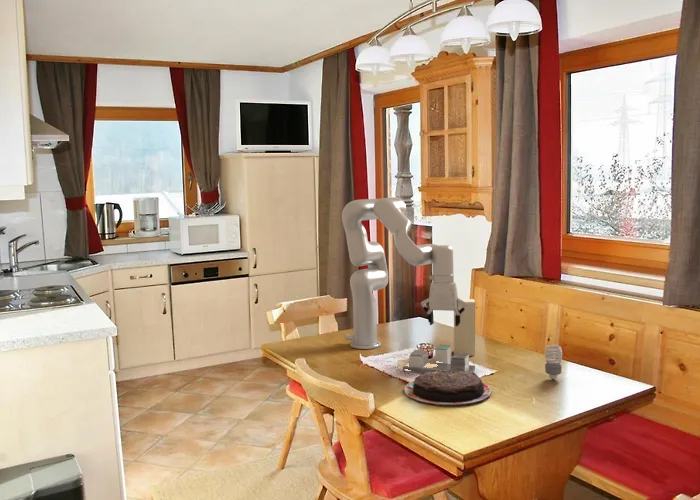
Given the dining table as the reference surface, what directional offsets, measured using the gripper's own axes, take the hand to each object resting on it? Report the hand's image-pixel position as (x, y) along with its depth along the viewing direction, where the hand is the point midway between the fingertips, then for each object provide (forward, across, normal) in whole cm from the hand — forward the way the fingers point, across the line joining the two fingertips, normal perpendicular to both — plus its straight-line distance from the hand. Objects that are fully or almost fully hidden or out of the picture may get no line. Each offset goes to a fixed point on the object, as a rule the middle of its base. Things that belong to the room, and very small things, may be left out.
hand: (444, 324), depth 245 cm
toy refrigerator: (+14, +4, +14) cm, 21 cm away
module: (+14, -1, 0) cm, 14 cm away
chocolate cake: (+15, +8, -33) cm, 37 cm away
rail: (+14, 0, -11) cm, 18 cm away
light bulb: (+15, +39, -10) cm, 43 cm away
